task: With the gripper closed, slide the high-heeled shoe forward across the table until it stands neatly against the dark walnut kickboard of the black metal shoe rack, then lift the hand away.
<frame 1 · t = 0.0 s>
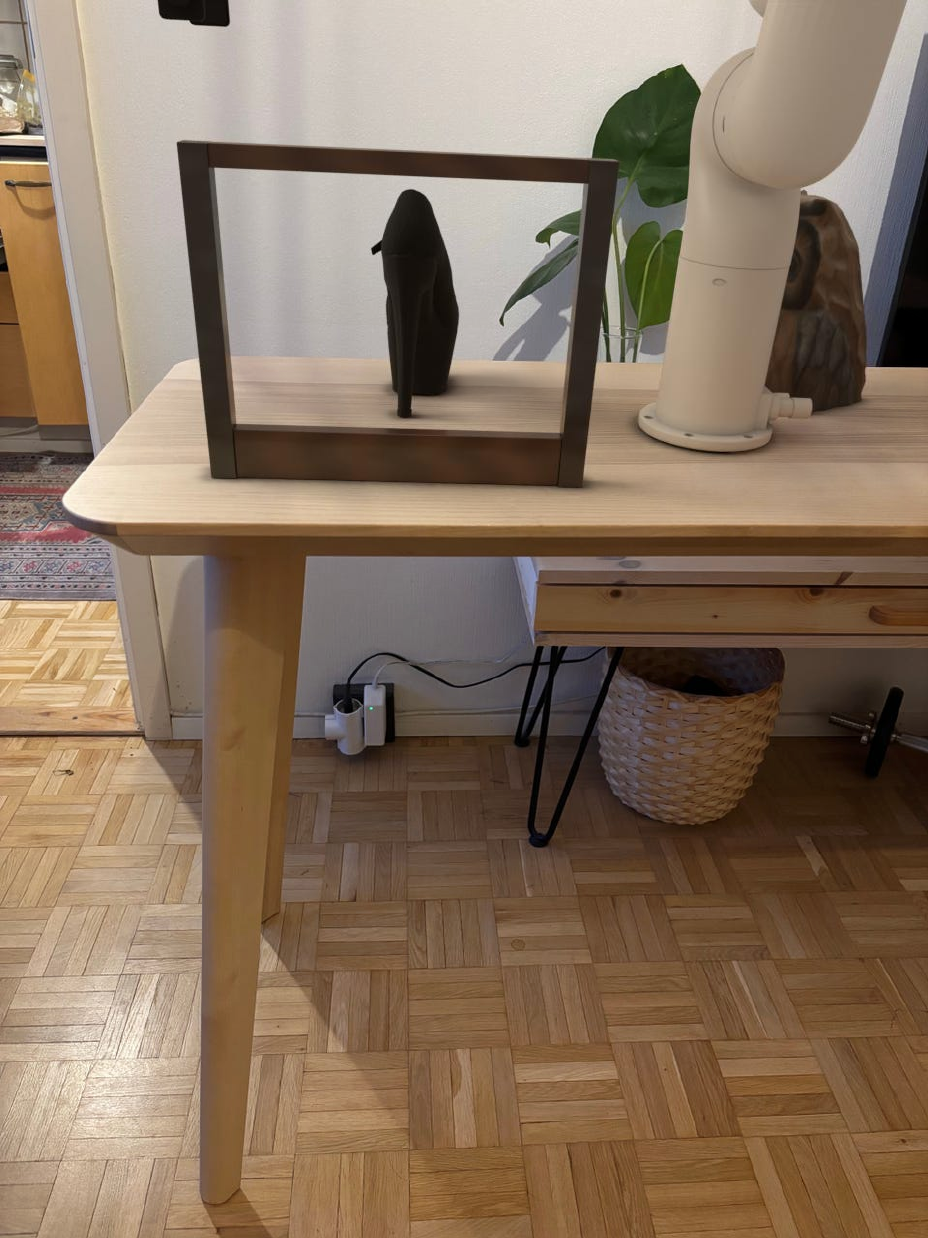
hand: (197, 22, 71), 31 cm above the table, tool pointing down, fingers open, 9 cm apart
high-heeled shoe: (413, 395, 95), on the table
shoe rack: (398, 478, 76), on the table
owl: (800, 399, 100), on the table
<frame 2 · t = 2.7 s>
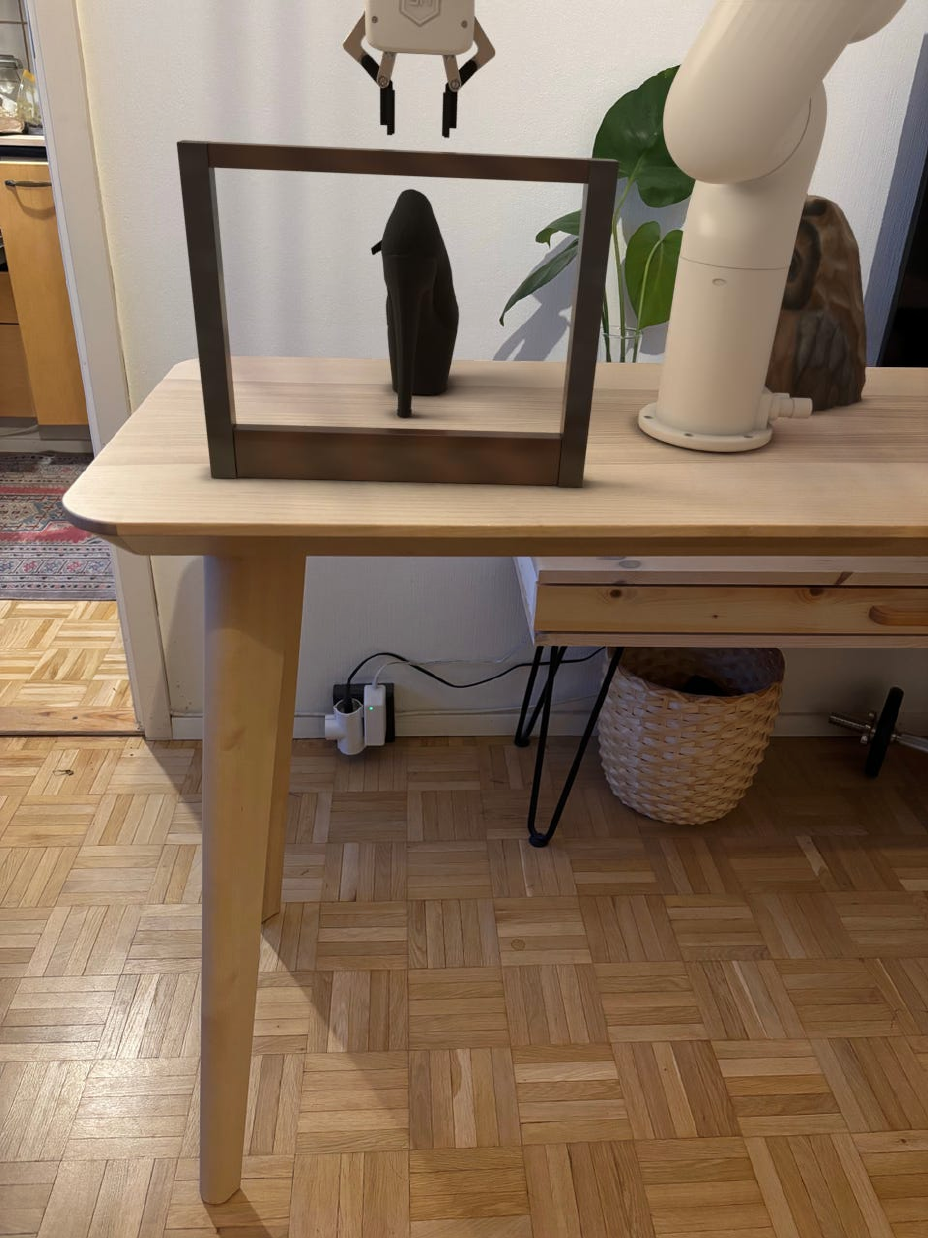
hand: (418, 133, 92), 23 cm above the table, tool pointing down, fingers open, 4 cm apart
nothing on the table moved.
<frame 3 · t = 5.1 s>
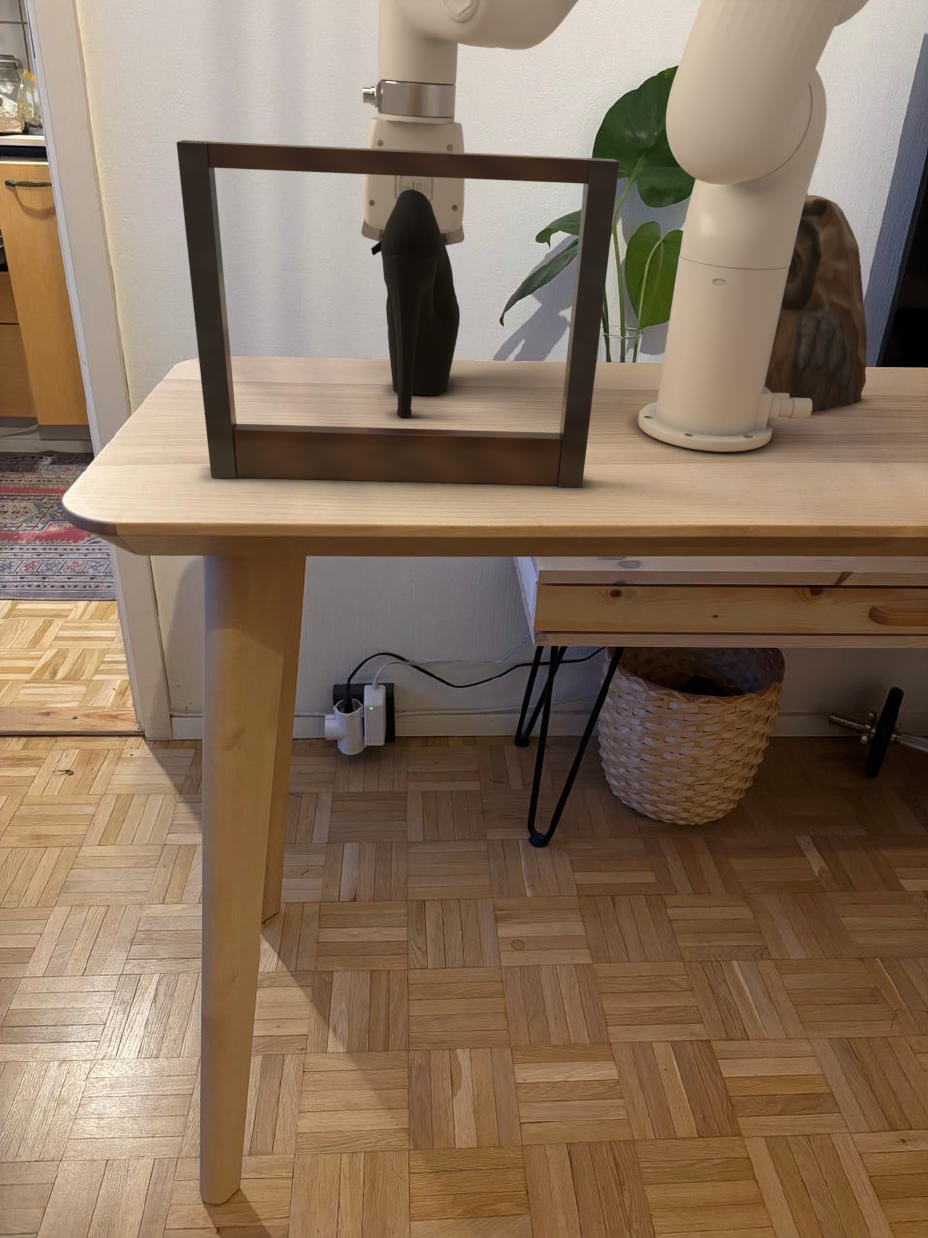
hand: (411, 298, 99), 8 cm above the table, tool pointing down, fingers closed
high-heeled shoe: (414, 396, 95), on the table, touching gripper
everything else where it was.
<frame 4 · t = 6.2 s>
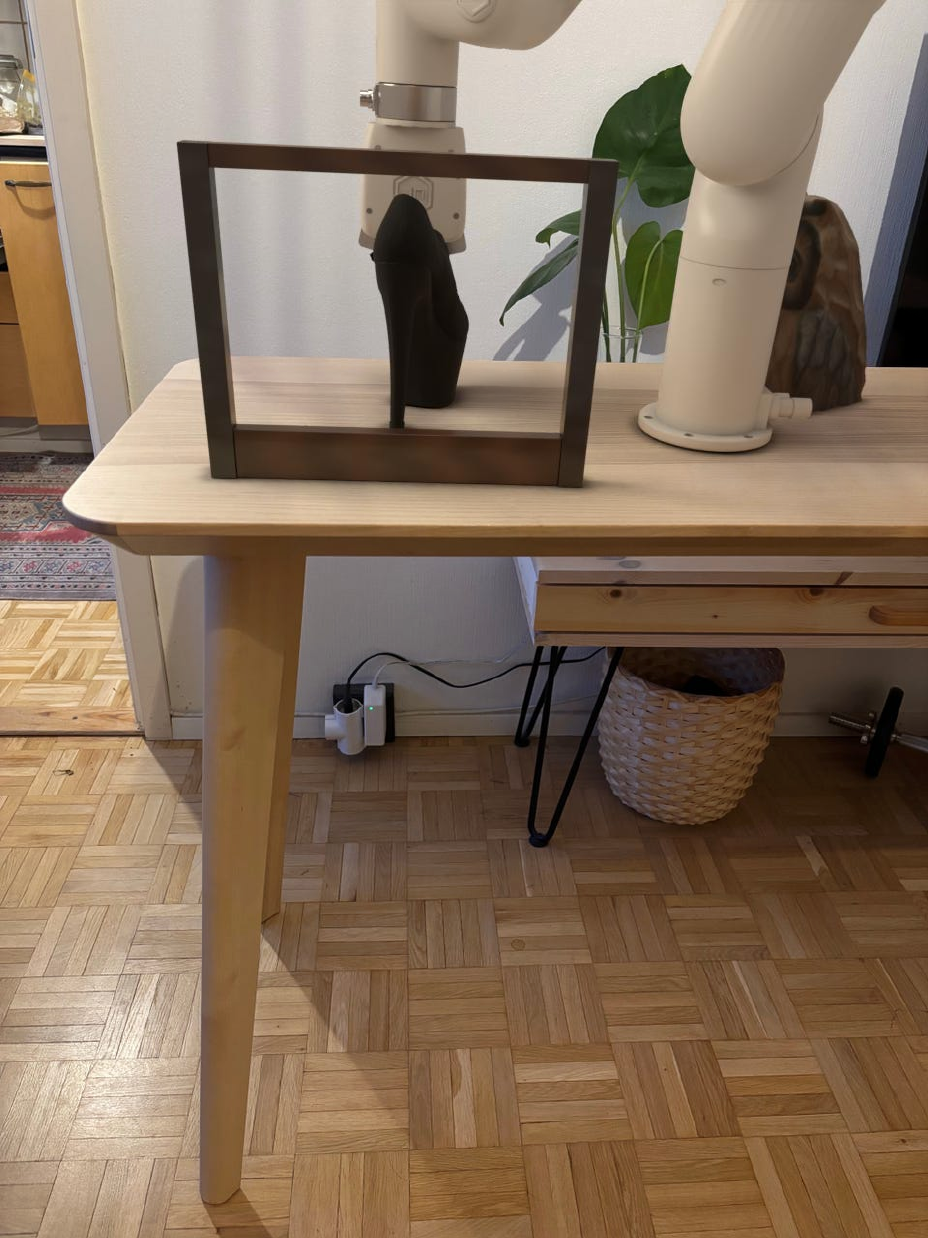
hand: (410, 310, 95), 7 cm above the table, tool pointing down, fingers closed
high-heeled shoe: (416, 407, 92), on the table, touching gripper
everything else where it was.
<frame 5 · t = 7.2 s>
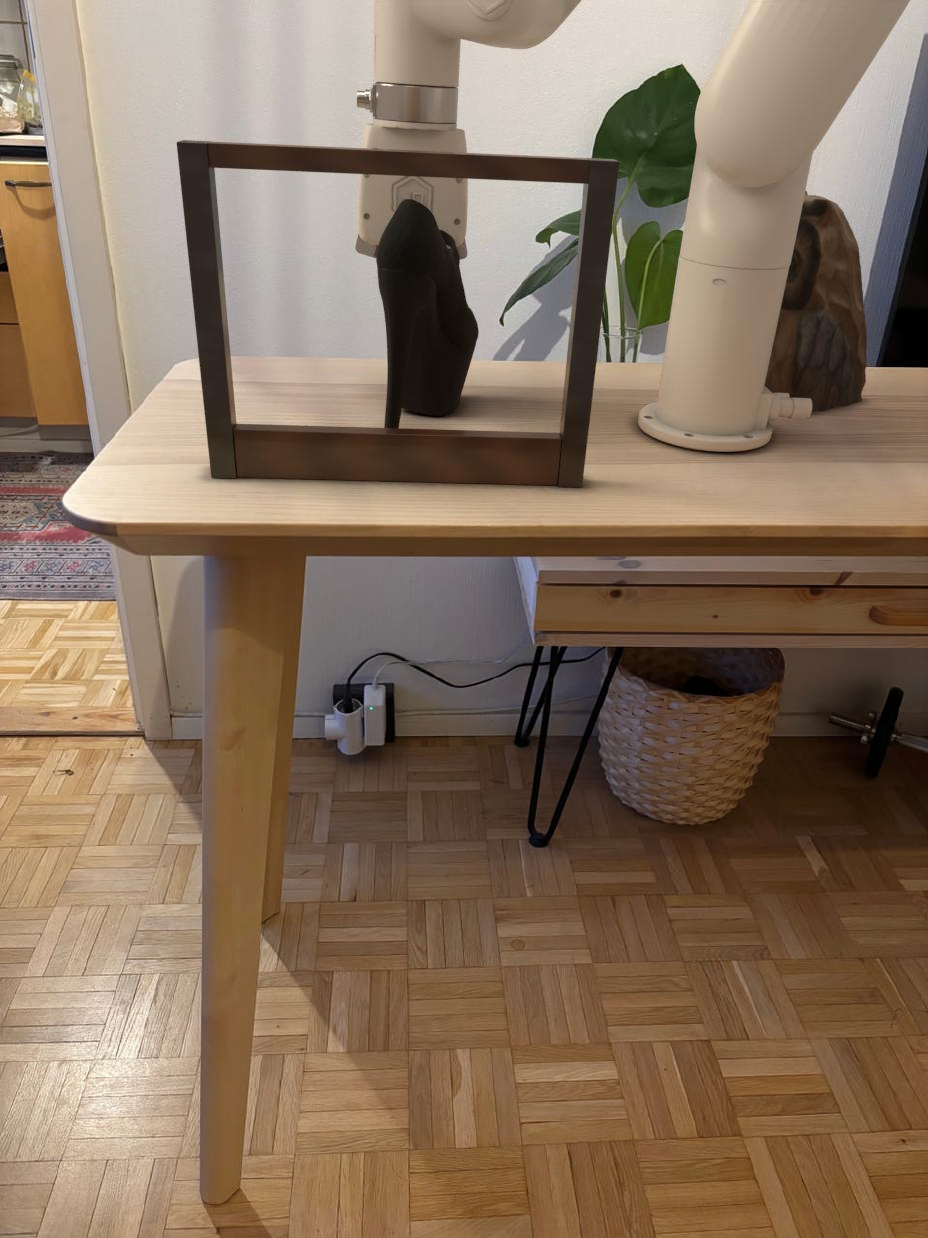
hand: (409, 318, 92), 8 cm above the table, tool pointing down, fingers closed
high-heeled shoe: (416, 414, 90), on the table, touching gripper
everything else where it was.
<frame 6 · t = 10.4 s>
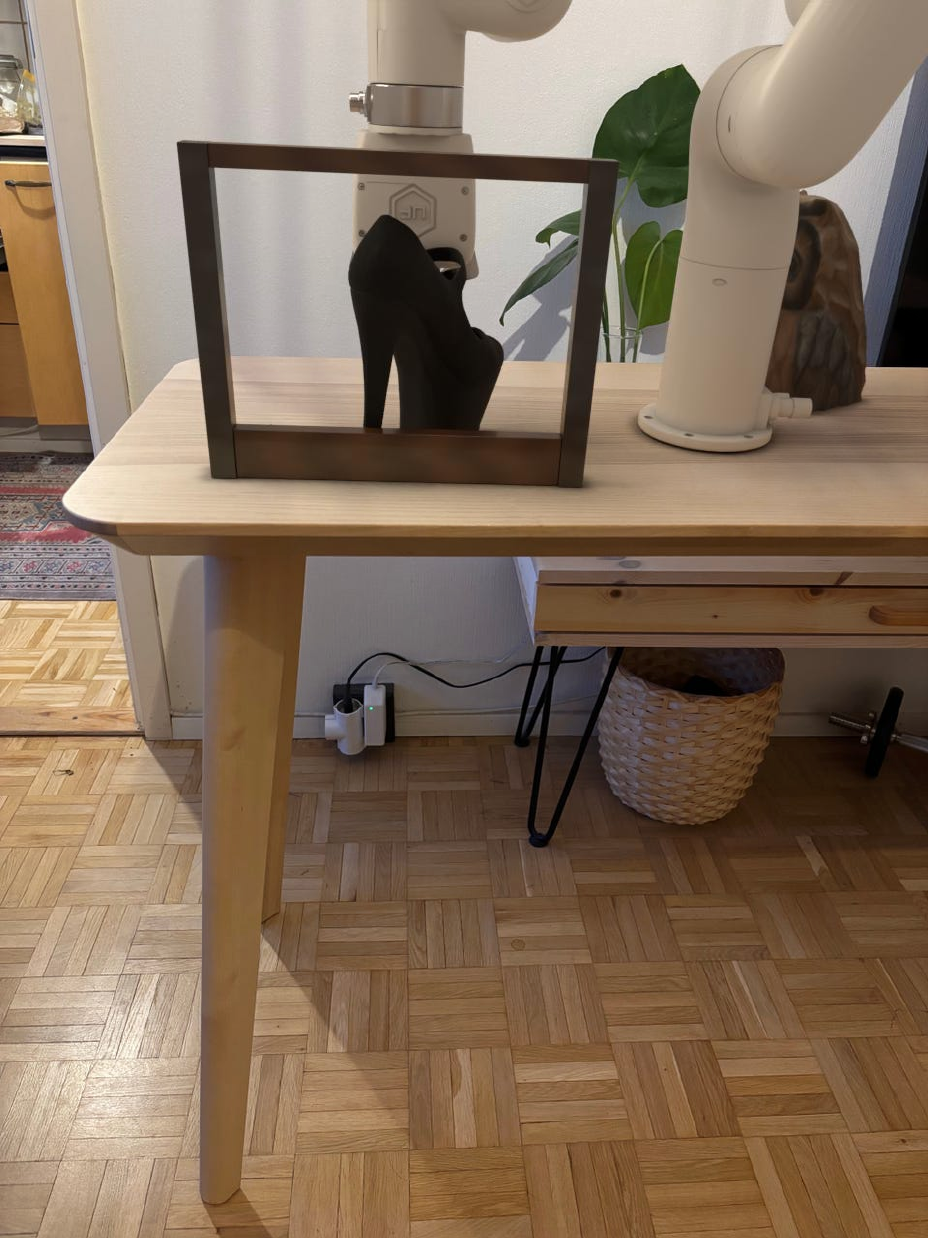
hand: (413, 345, 82), 8 cm above the table, tool pointing down, fingers closed
high-heeled shoe: (417, 447, 82), on the table, touching gripper, shoe rack
everything else where it was.
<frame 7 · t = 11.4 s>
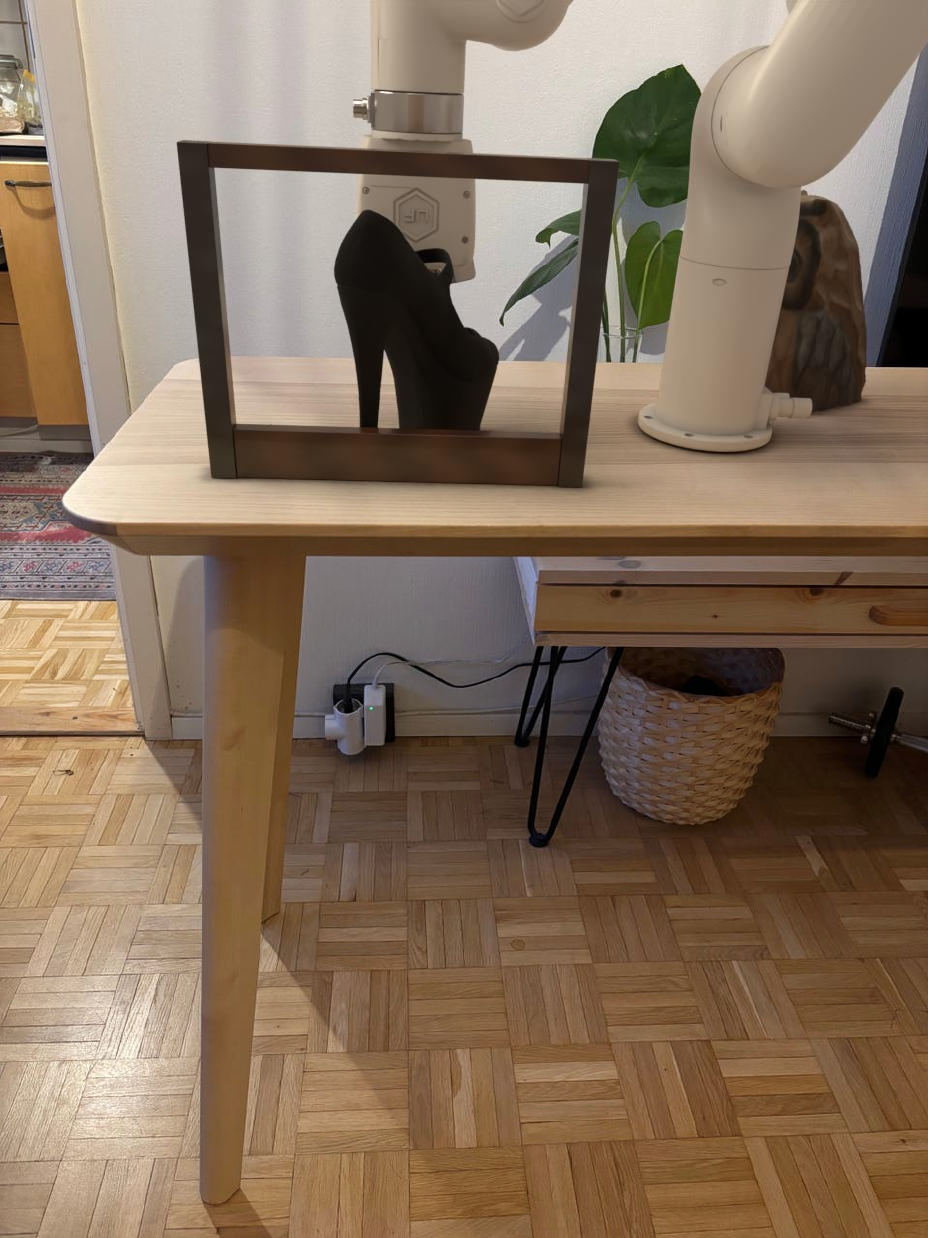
hand: (413, 344, 85), 7 cm above the table, tool pointing down, fingers closed
high-heeled shoe: (417, 449, 82), on the table
everything else where it was.
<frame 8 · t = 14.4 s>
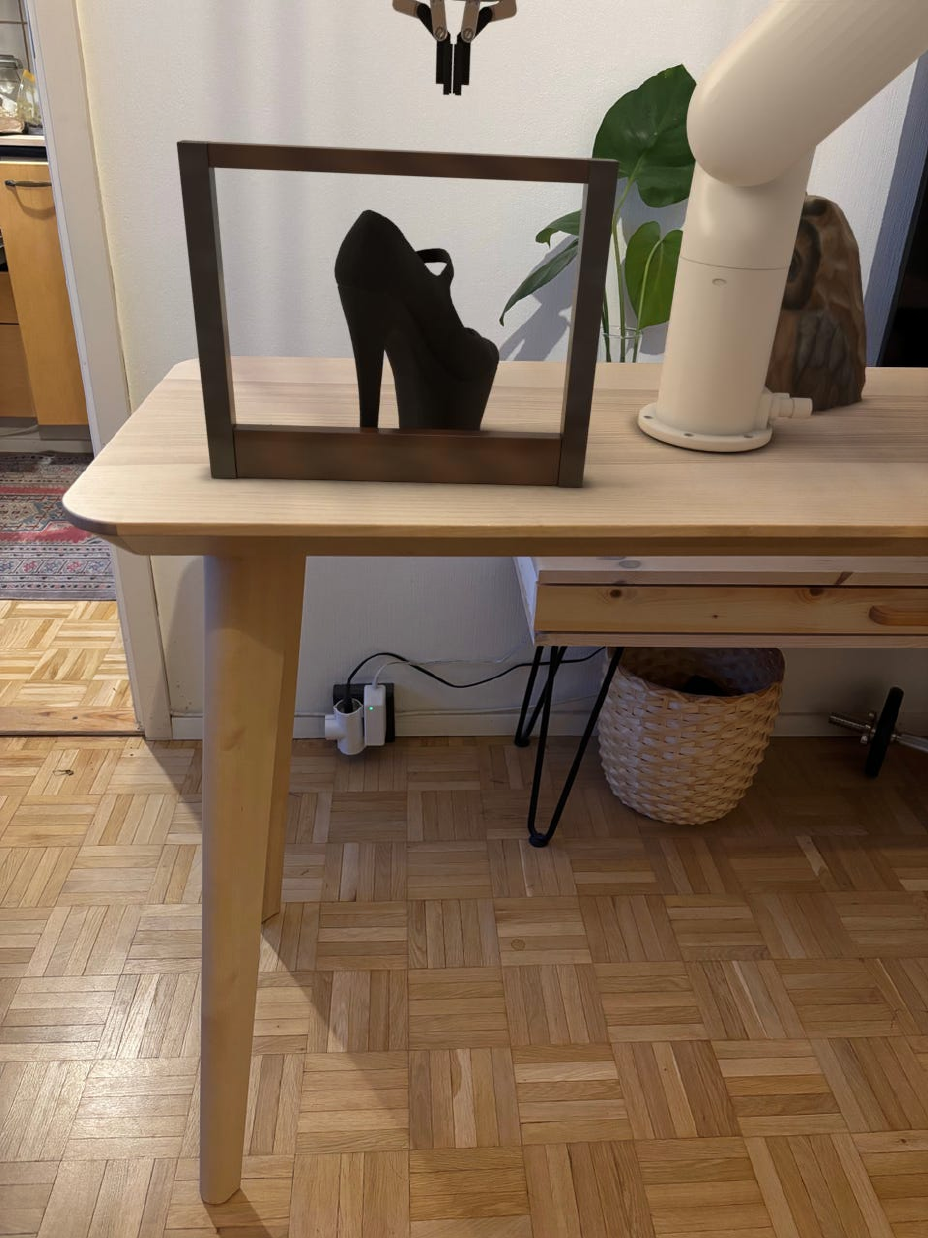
hand: (451, 94, 83), 27 cm above the table, tool pointing down, fingers closed
nothing on the table moved.
at the end: high-heeled shoe inside the target area on the table beside the shoe rack (1.9 cm from its centre), on the table; high-heeled shoe tilted 0°; high-heeled shoe moved 15.8 cm from its start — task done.
